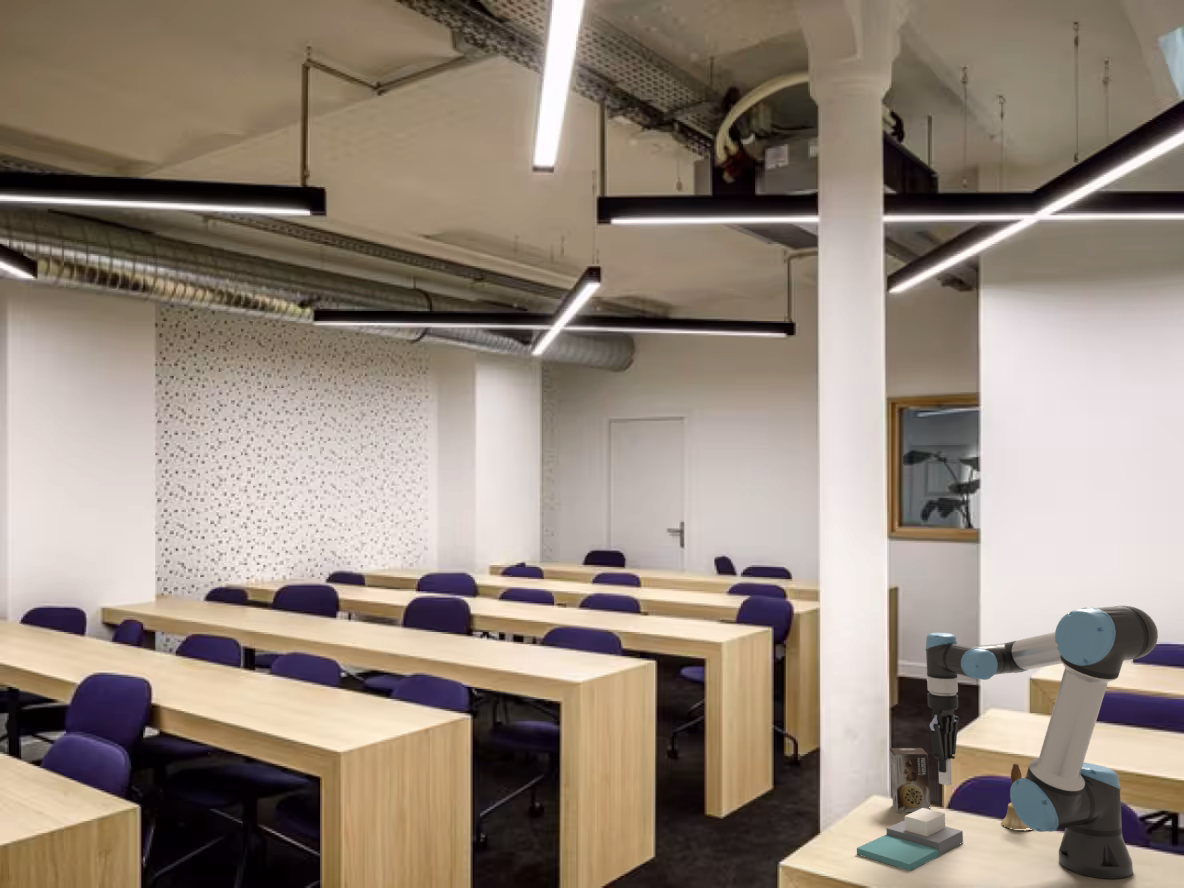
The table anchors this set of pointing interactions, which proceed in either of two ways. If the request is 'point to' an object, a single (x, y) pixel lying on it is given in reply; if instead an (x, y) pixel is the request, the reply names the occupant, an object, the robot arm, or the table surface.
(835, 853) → the table surface
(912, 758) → the coffee box
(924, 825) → the white rectangular block
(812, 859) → the table surface
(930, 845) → the plate
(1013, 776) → the hand bell
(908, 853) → the mat
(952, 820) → the table surface
